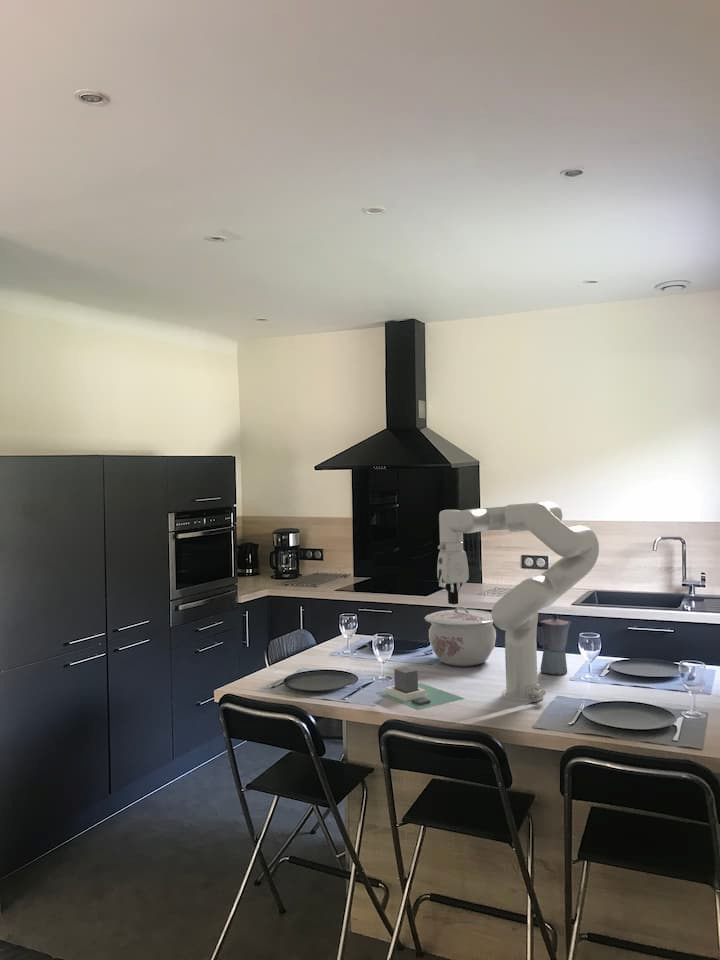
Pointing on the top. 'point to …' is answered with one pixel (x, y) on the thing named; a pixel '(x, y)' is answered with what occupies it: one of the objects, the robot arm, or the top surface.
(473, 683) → the top surface
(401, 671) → the plug
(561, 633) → the moka pot
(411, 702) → the board
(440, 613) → the chamber pot
